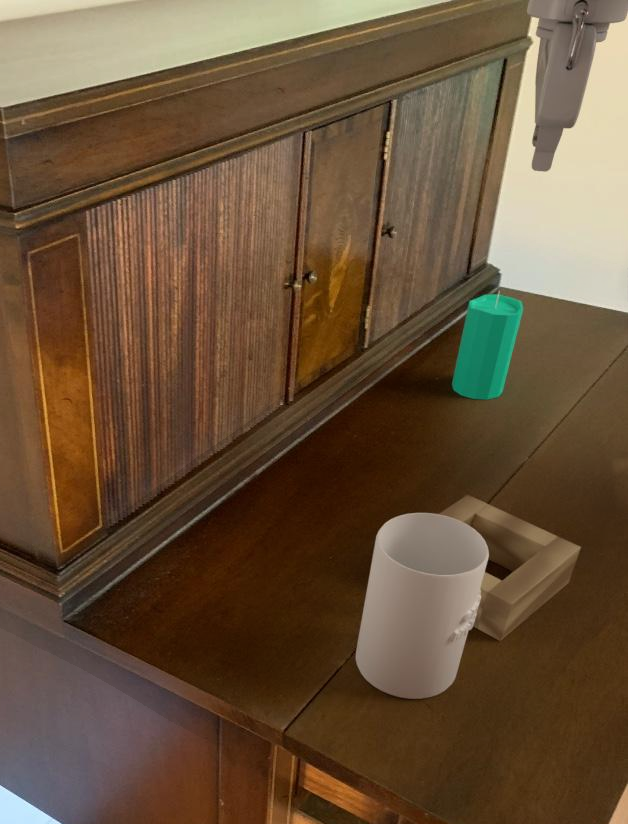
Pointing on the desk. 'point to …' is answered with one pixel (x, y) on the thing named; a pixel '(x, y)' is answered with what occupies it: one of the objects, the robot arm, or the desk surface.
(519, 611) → the frame
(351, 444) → the desk surface
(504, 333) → the candle
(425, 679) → the mug
